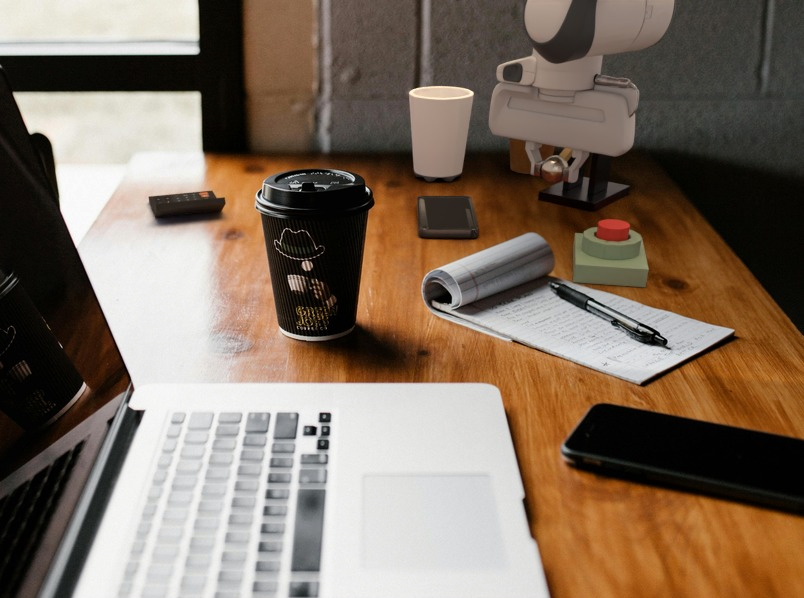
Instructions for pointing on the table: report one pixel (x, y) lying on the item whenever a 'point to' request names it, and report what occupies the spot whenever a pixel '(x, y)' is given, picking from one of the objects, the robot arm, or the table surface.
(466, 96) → the cup
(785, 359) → the table surface
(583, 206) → the switch bracket
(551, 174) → the switch lever
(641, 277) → the button block
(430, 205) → the phone
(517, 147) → the disposable coffee cup
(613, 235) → the button
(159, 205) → the calculator
